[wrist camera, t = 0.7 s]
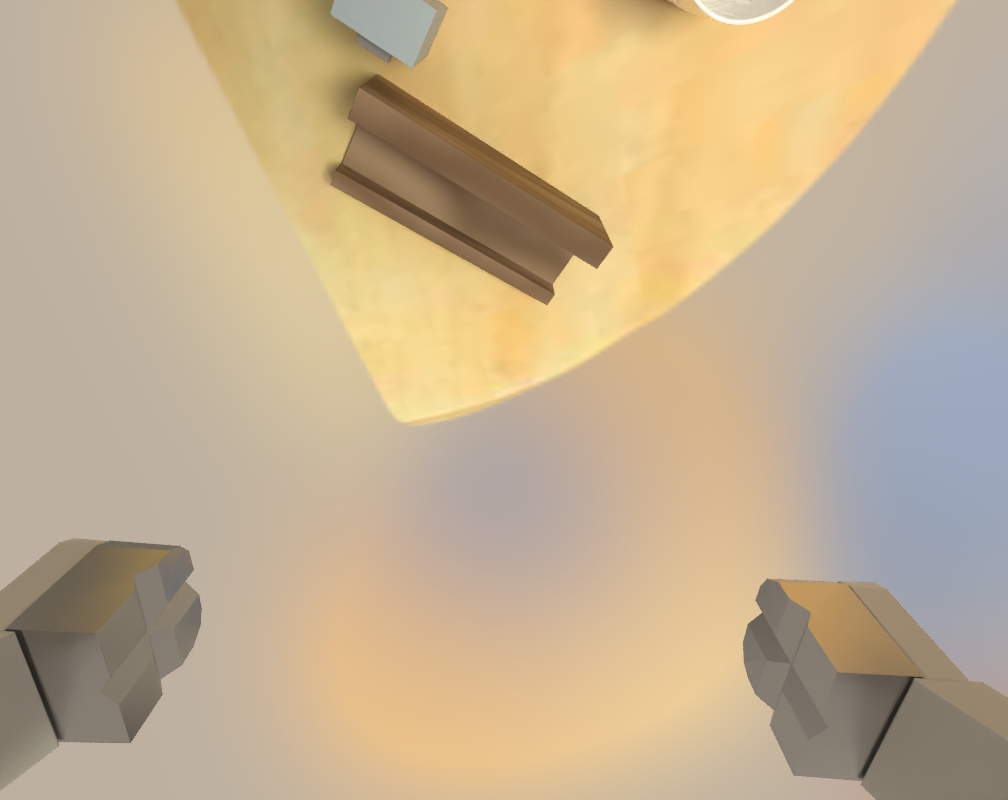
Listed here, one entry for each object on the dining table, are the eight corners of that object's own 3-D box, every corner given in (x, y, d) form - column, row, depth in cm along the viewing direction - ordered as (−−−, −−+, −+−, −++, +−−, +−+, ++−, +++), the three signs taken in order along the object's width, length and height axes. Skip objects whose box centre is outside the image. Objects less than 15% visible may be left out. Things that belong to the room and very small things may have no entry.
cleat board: (378, 74, 39) (359, 87, 34) (598, 216, 46) (613, 246, 40) (337, 176, 44) (314, 202, 38) (544, 292, 50) (551, 330, 44)
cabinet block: (380, -41, 36) (351, -51, 28) (448, 7, 37) (436, 10, 30) (357, 21, 38) (325, 27, 30) (423, 64, 39) (406, 80, 32)
